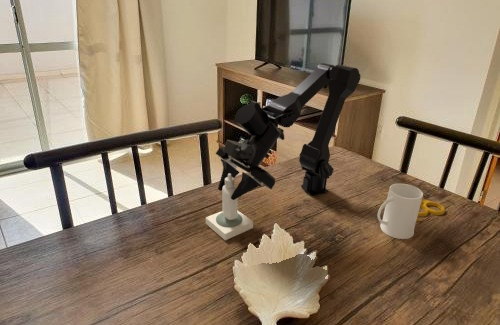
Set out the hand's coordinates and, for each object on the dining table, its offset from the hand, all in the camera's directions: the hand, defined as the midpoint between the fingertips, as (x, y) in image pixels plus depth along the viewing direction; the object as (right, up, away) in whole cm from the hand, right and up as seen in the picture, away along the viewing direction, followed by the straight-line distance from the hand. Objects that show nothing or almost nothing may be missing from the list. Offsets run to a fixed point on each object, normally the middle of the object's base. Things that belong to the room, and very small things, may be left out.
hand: (225, 194), depth 93 cm
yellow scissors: (+55, -7, +15) cm, 57 cm away
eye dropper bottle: (+1, -6, +4) cm, 7 cm away
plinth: (+1, -9, +5) cm, 10 cm away
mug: (+44, -10, +5) cm, 46 cm away
